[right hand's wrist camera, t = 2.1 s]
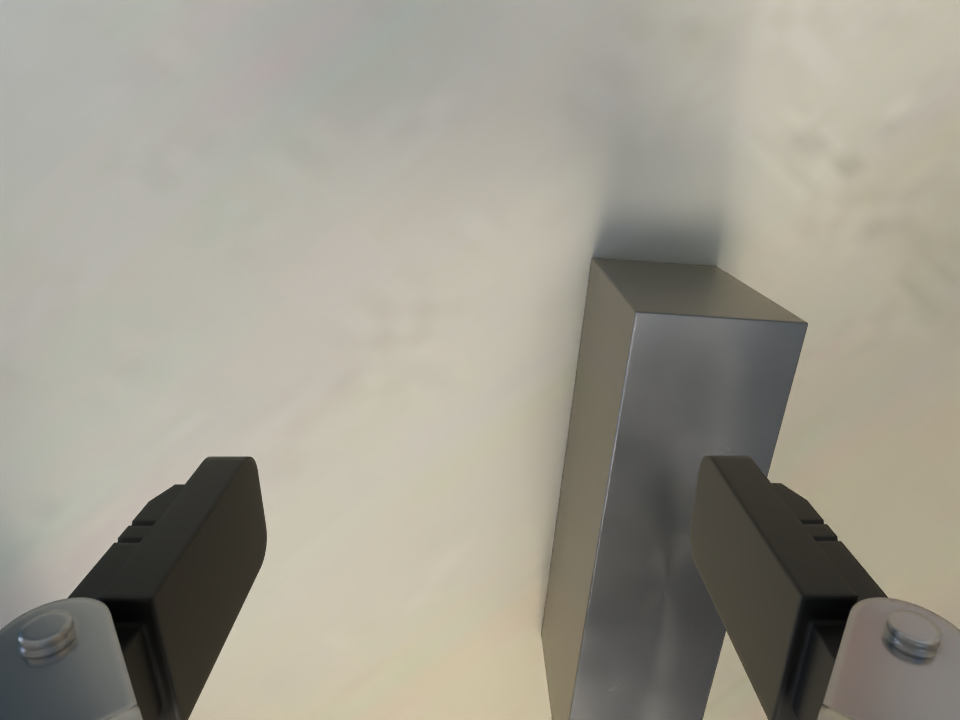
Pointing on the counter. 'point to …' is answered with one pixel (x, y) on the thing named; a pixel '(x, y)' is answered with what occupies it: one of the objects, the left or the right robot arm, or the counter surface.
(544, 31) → the counter surface
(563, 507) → the box
